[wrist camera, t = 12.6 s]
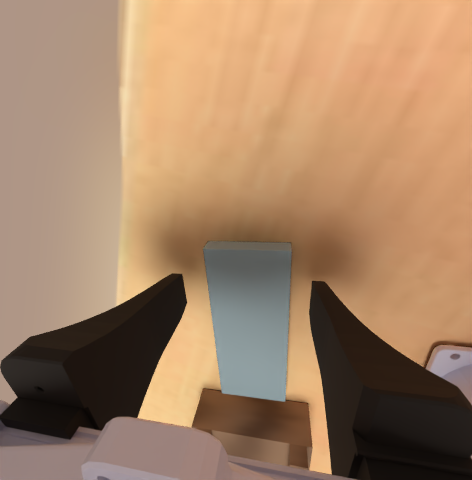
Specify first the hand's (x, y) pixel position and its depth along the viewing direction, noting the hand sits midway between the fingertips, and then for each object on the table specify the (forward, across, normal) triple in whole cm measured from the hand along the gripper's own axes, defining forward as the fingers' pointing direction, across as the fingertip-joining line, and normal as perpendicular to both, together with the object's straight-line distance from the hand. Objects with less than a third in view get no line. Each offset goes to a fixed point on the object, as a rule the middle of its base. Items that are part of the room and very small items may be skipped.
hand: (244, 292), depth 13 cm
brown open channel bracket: (+2, 0, +20) cm, 21 cm away
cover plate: (+3, 0, +4) cm, 5 cm away
